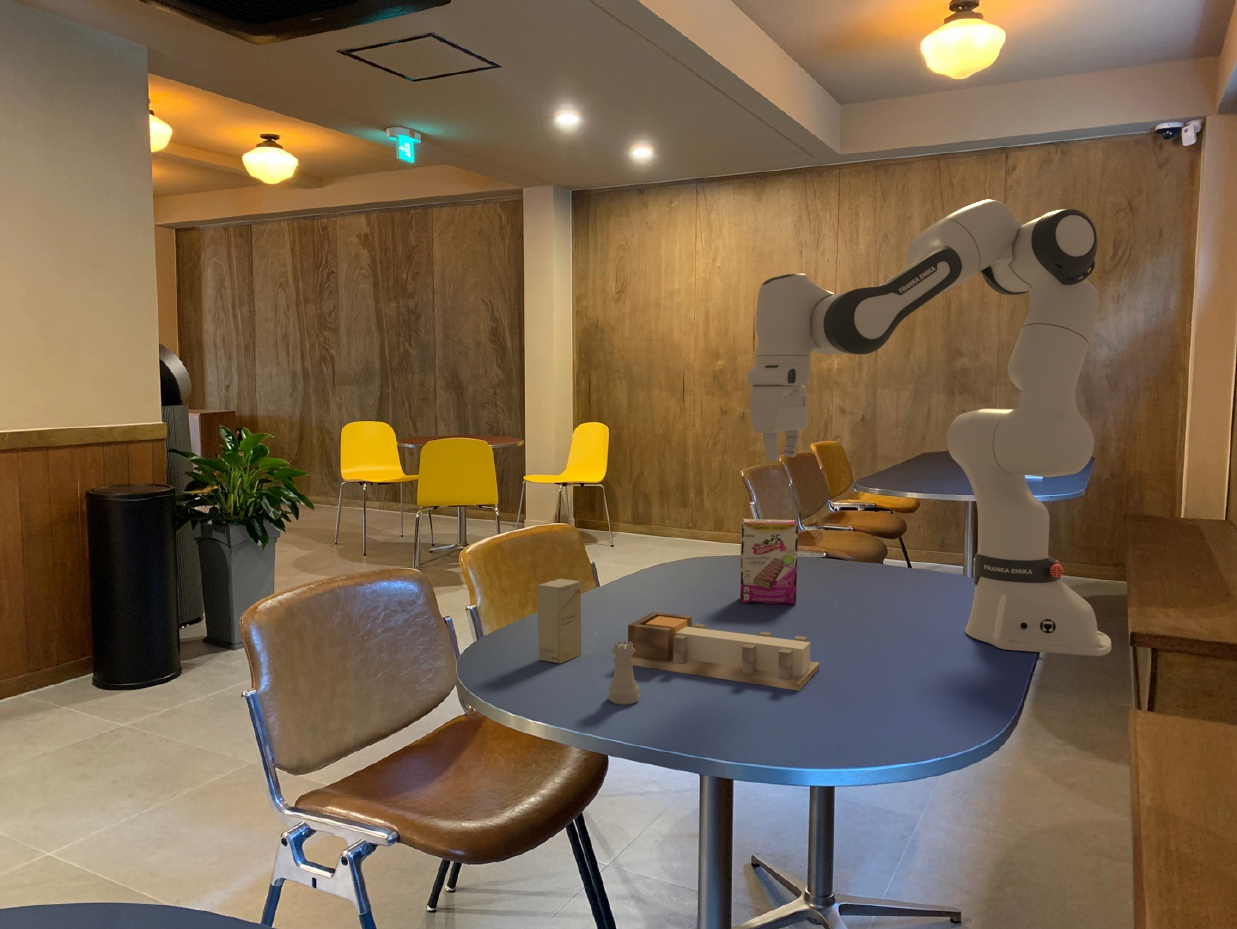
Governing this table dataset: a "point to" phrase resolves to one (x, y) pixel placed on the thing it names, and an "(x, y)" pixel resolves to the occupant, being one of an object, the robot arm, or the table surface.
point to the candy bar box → (768, 561)
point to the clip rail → (657, 655)
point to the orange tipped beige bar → (734, 646)
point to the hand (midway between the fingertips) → (781, 458)
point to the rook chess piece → (623, 676)
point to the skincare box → (559, 620)
